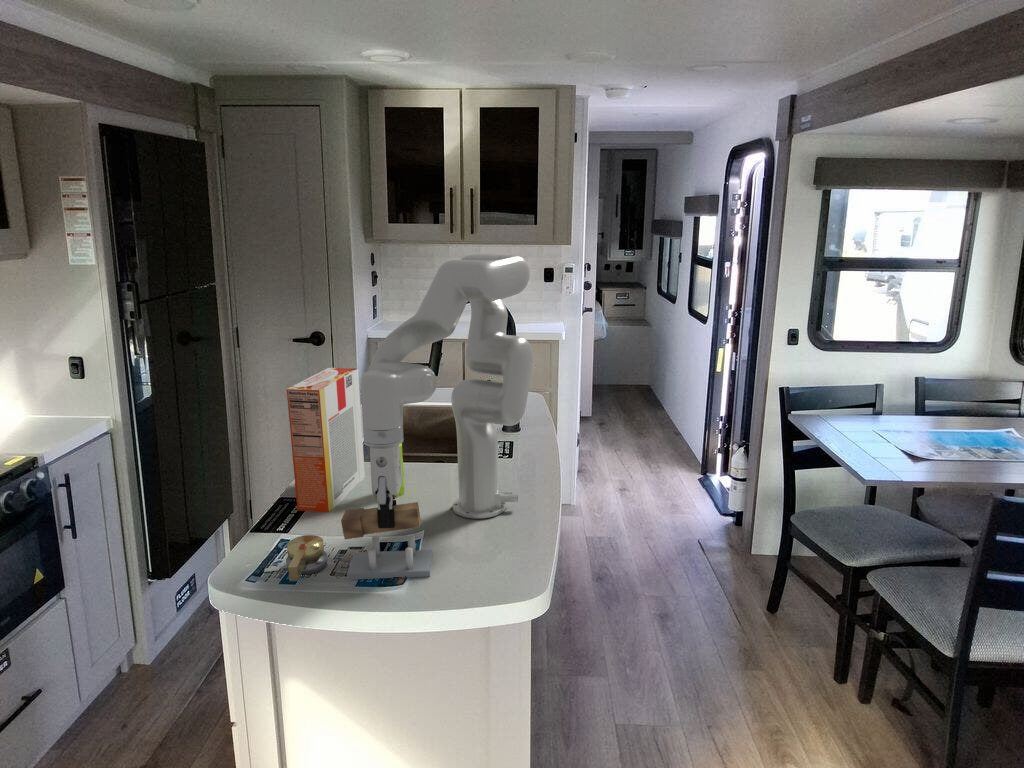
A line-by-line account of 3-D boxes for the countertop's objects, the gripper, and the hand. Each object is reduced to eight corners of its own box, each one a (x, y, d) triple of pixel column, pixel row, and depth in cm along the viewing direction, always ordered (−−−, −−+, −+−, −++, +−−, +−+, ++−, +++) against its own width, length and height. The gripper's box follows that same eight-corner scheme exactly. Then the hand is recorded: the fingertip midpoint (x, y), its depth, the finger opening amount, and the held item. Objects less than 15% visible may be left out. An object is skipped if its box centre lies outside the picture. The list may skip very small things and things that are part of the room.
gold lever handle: (292, 547, 148) (291, 533, 147) (327, 546, 148) (326, 532, 148) (274, 581, 134) (273, 566, 134) (312, 580, 135) (311, 565, 134)
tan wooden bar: (421, 518, 145) (418, 500, 144) (419, 529, 140) (416, 510, 139) (349, 528, 145) (345, 509, 144) (344, 539, 140) (340, 520, 139)
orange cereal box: (336, 476, 195) (328, 367, 188) (364, 477, 193) (357, 368, 186) (297, 510, 173) (286, 389, 166) (328, 512, 171) (319, 390, 164)
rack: (432, 554, 150) (431, 531, 148) (429, 576, 141) (428, 552, 140) (354, 557, 149) (352, 534, 148) (347, 579, 140) (345, 555, 139)
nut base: (331, 556, 149) (330, 547, 149) (323, 575, 142) (322, 566, 141) (271, 558, 149) (270, 549, 148) (260, 577, 141) (259, 568, 141)
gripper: (399, 447, 130) (403, 541, 134) (406, 422, 146) (410, 506, 150) (357, 448, 130) (362, 542, 134) (369, 422, 146) (374, 507, 150)
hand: (387, 522), depth 142 cm, fingers closed on tan wooden bar, 3 cm apart
